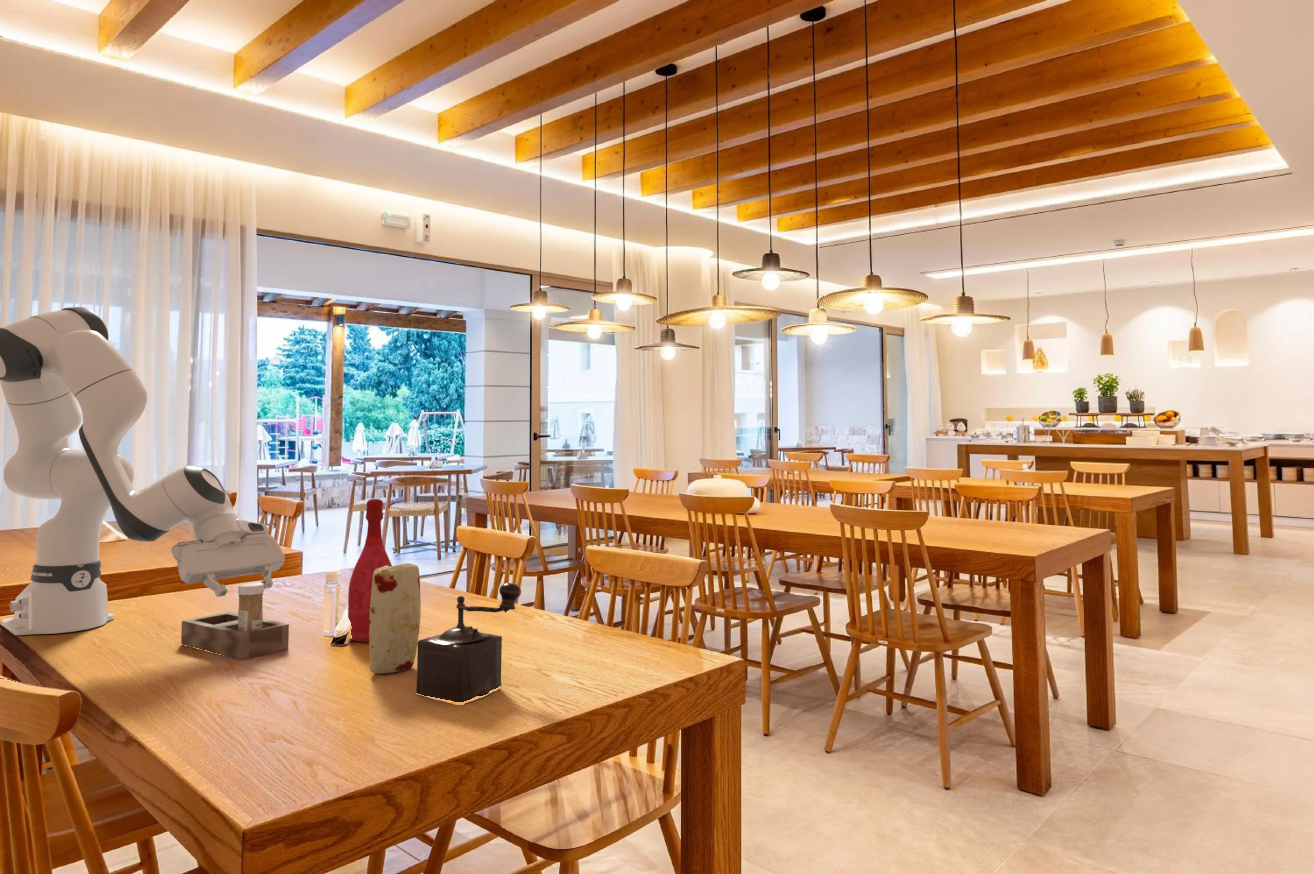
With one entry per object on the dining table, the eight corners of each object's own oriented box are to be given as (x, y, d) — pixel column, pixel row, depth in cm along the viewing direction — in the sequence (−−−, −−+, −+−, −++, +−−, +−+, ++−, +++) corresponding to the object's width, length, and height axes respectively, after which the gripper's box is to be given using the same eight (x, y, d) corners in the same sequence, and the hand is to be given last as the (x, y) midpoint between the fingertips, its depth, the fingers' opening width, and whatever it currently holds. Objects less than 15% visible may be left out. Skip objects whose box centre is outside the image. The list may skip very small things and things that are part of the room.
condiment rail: (181, 645, 158) (181, 620, 158) (228, 634, 167) (229, 611, 167) (241, 660, 148) (241, 634, 148) (288, 648, 157) (288, 624, 157)
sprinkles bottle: (264, 651, 154) (265, 584, 154) (238, 655, 152) (239, 586, 152) (260, 646, 158) (262, 580, 158) (235, 649, 156) (236, 582, 156)
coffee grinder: (463, 707, 125) (466, 596, 125) (414, 695, 131) (416, 589, 131) (524, 682, 139) (526, 582, 139) (477, 672, 144) (479, 575, 144)
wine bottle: (337, 640, 164) (340, 499, 164) (370, 630, 173) (373, 496, 173) (373, 646, 160) (376, 501, 160) (405, 635, 169) (408, 498, 170)
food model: (378, 680, 138) (381, 568, 138) (359, 672, 142) (362, 564, 142) (426, 669, 145) (429, 562, 145) (407, 661, 150) (409, 558, 150)
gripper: (174, 533, 153) (198, 589, 148) (273, 523, 170) (298, 573, 165) (163, 553, 156) (186, 609, 151) (262, 542, 173) (286, 591, 168)
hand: (246, 590), depth 158 cm, fingers open, 8 cm apart
